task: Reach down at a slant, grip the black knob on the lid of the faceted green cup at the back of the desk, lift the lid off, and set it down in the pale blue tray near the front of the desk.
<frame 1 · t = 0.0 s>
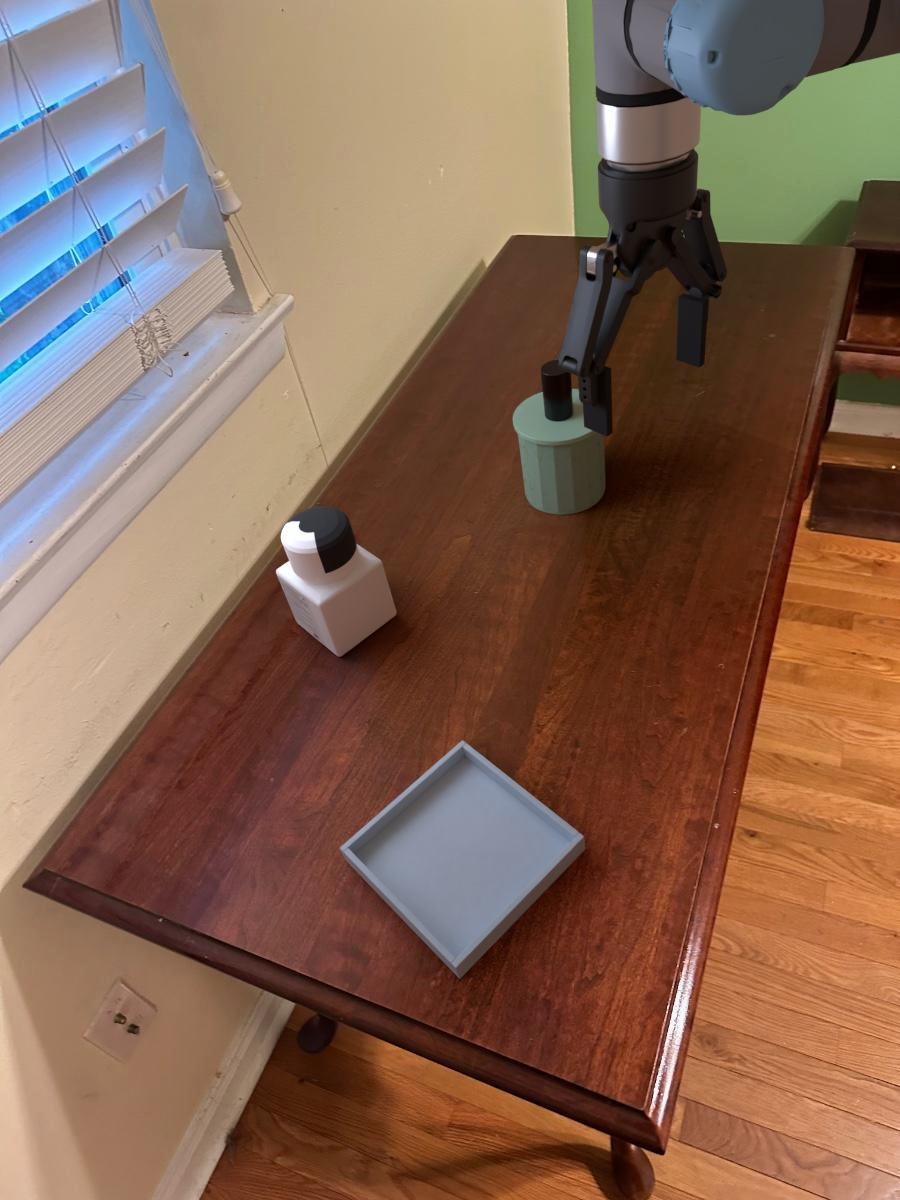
hand: (645, 395, 80), 16 cm above the table, tool pointing down, fingers open, 13 cm apart
faceted green cup: (564, 489, 97), on the table
lid: (559, 418, 90), point 9 cm above the table, touching faceted green cup
rod: (544, 388, 113), on the table
tray: (463, 854, 67), on the table
container: (347, 620, 88), on the table
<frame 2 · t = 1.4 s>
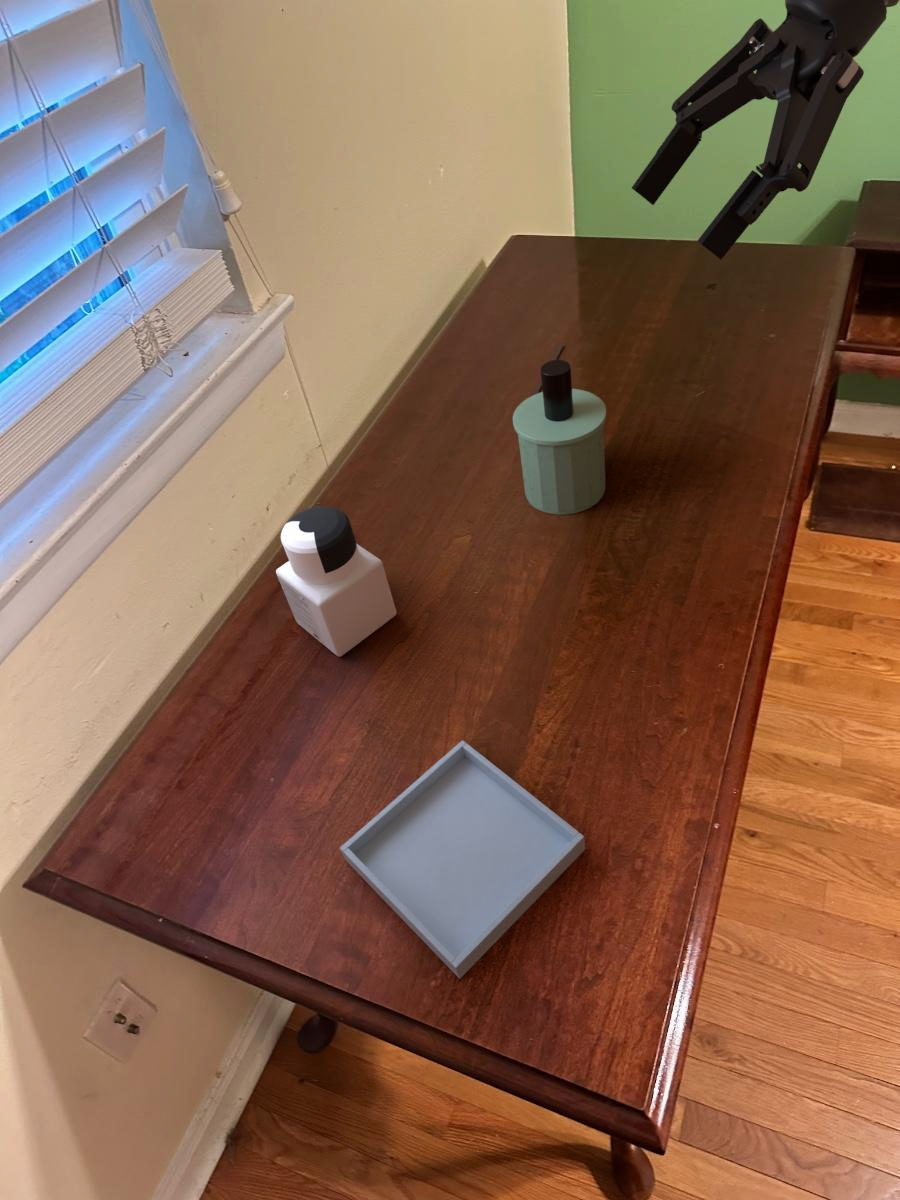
hand: (673, 222, 77), 28 cm above the table, tool tilted 45°, fingers open, 13 cm apart
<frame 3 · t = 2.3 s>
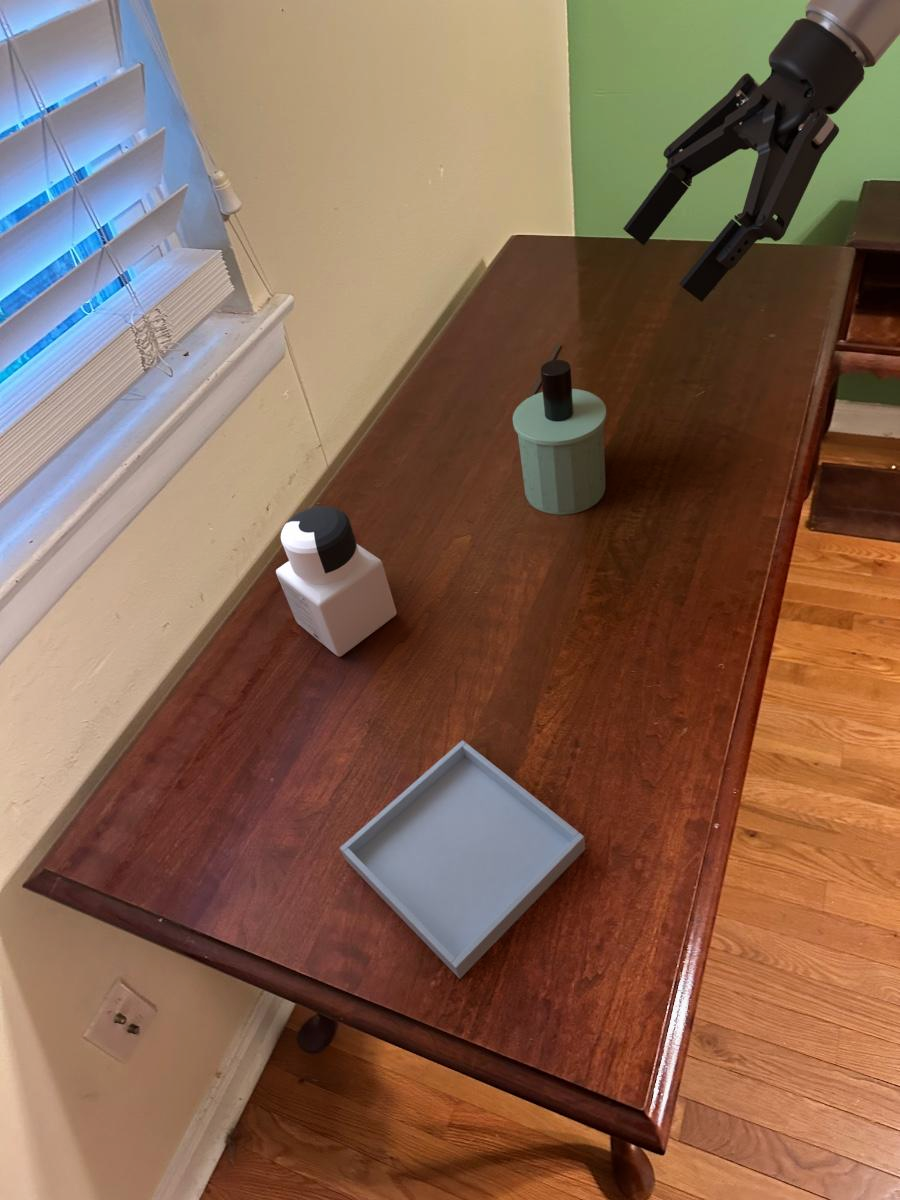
hand: (659, 263, 81), 24 cm above the table, tool tilted 45°, fingers open, 13 cm apart
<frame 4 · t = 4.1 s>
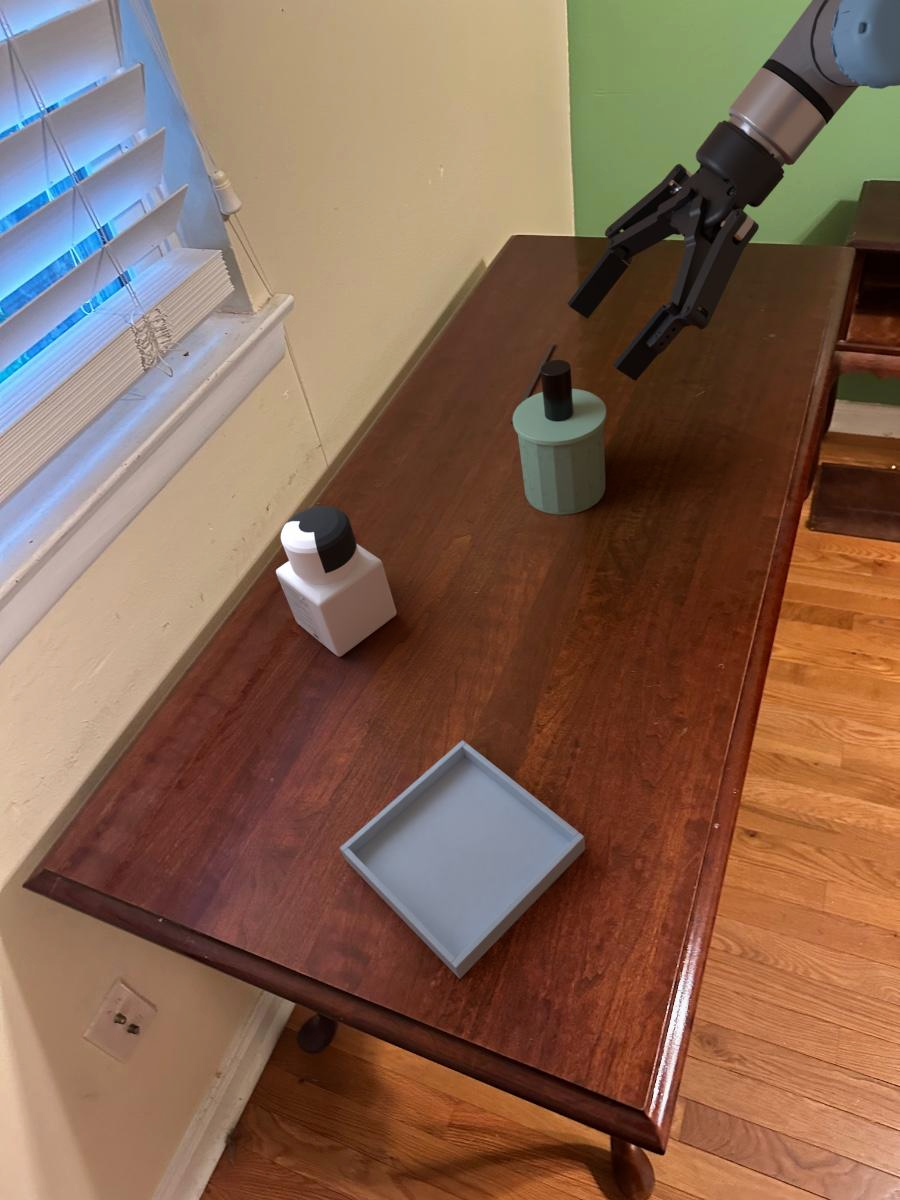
hand: (599, 340, 85), 17 cm above the table, tool tilted 45°, fingers open, 13 cm apart
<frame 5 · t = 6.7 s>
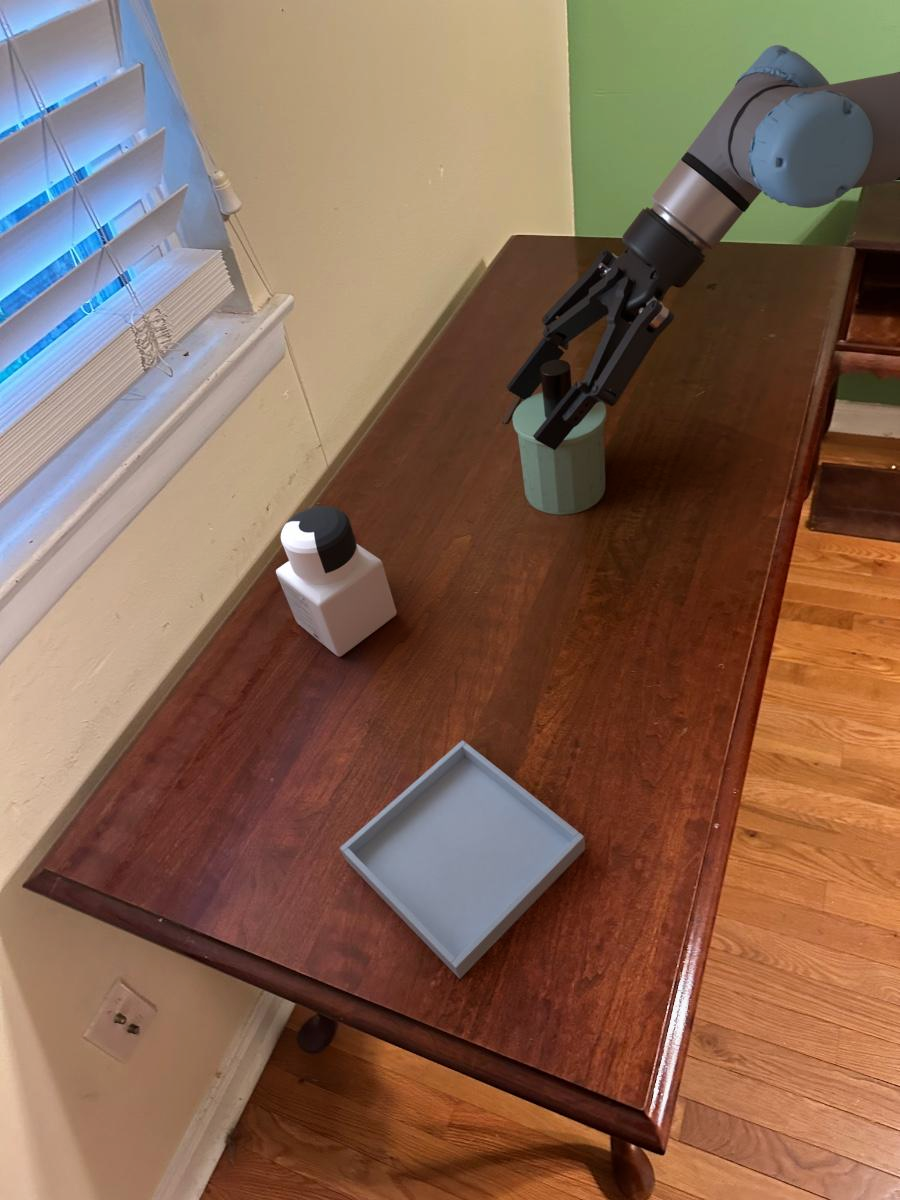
hand: (529, 417, 89), 11 cm above the table, tool tilted 45°, fingers closed on lid, 9 cm apart
lid: (559, 418, 90), point 10 cm above the table, touching faceted green cup, gripper
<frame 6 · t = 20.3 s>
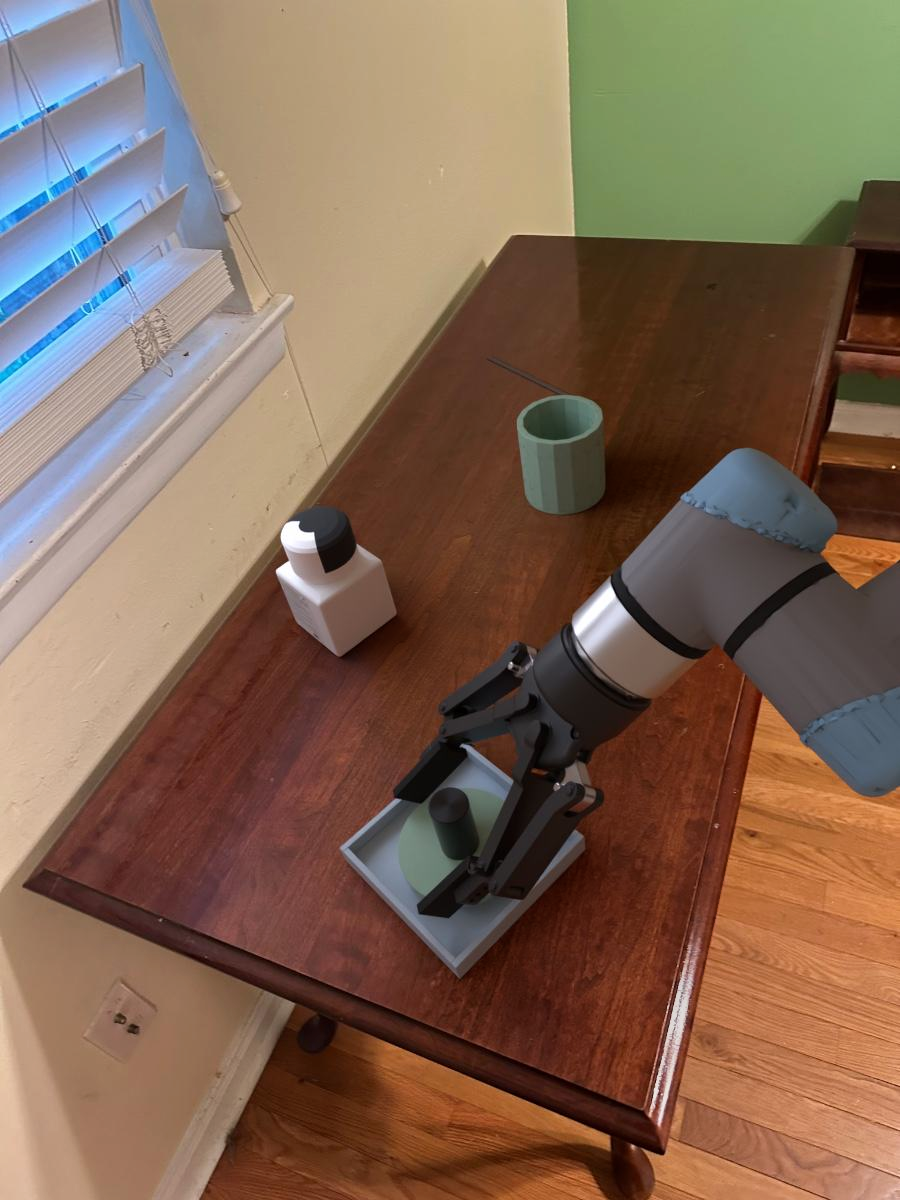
hand: (419, 851, 65), 3 cm above the table, tool tilted 45°, fingers closed on lid, 9 cm apart
lid: (461, 846, 66), point 1 cm above the table, touching gripper
rod: (534, 384, 114), on the table
everything else where it was.
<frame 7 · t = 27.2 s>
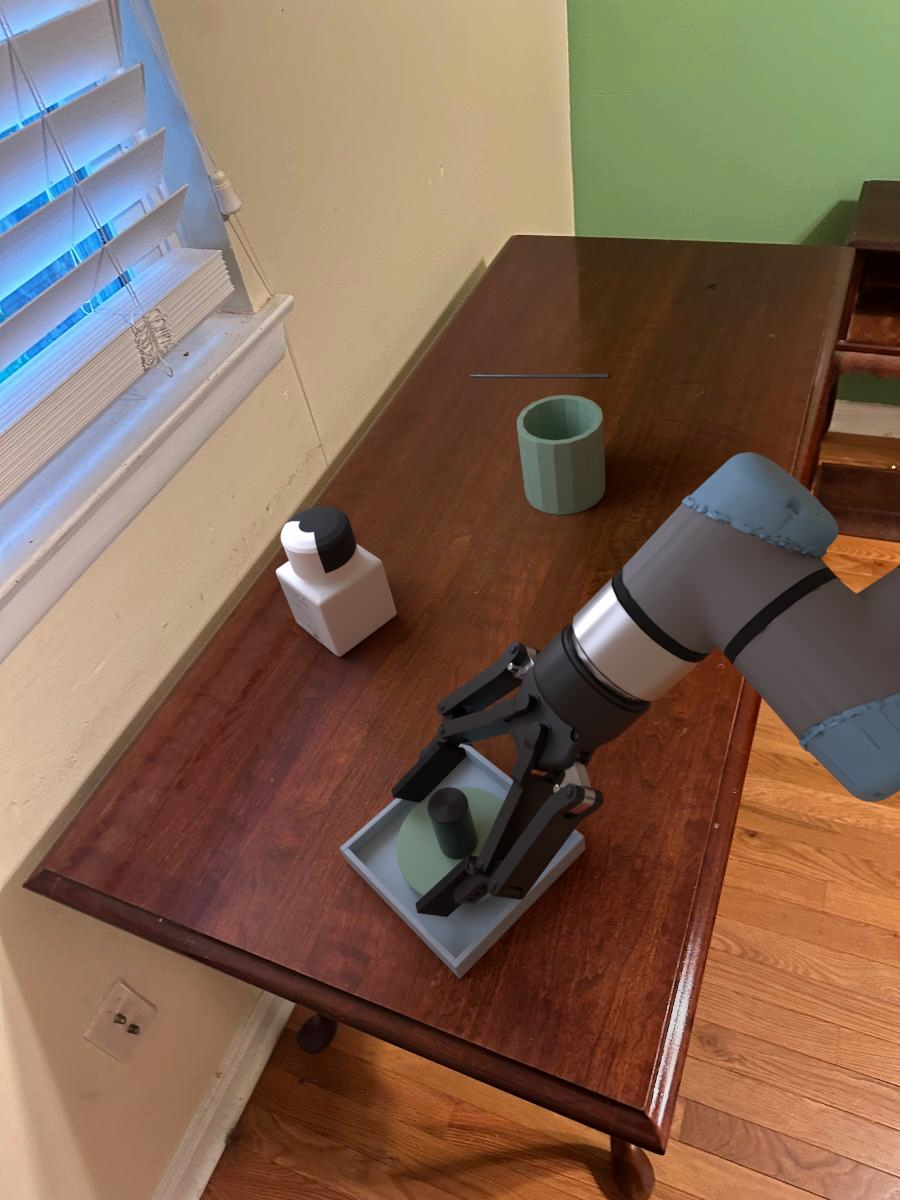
hand: (417, 850, 65), 2 cm above the table, tool tilted 45°, fingers closed on lid, 9 cm apart
lid: (459, 845, 66), point 1 cm above the table, touching gripper
rod: (538, 379, 115), on the table
everything else where it was.
when the fingers open (4 cm above the table, at t = 30.7 s): lid drops 2 cm, resting on tray.
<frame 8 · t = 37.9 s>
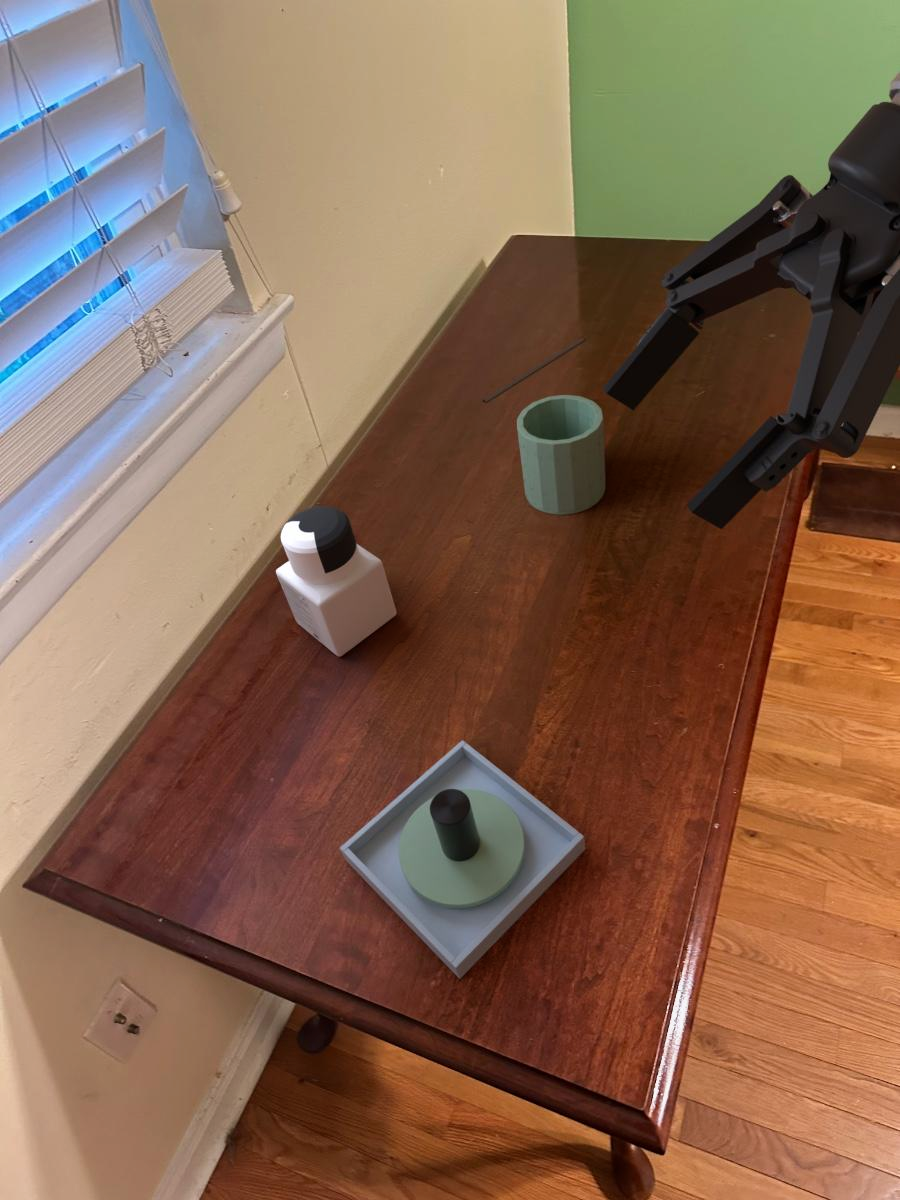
hand: (656, 453, 54), 28 cm above the table, tool tilted 45°, fingers open, 13 cm apart
lid: (462, 847, 66), point 1 cm above the table, touching tray
rod: (535, 373, 116), on the table
everything else where it was.
at the end: lid 0.1 cm off-centre in the tray, point 1.1 cm above the tray's base; lid tilted 0°; the gripper is holding nothing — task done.
